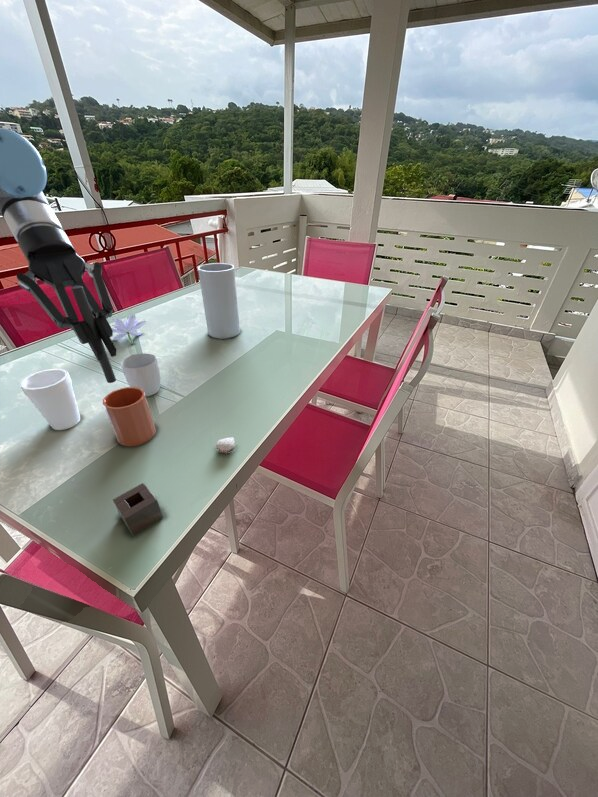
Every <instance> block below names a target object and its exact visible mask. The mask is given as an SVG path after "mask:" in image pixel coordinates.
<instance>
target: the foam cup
mask: <svg viewBox="0 0 598 797" xmlns="http://www.w3.org/2000/svg"><path fill="white" fill-rule="evenodd" d="M72 383H73V382H72V378H71V376H70V374H69V371H68V370H65V369H64V368H49V369H43V370H40V371H36V372H34V373H30V374H29V375H28V376H25V377H24V378H23V379H22V380H21V381H20V384H19V387H20V388H21V390H22V392H23V394H24V395H25V397H27V398H28V399H29V400H30V402H31V403H32V404H33V405H34V407H35V408H36V409H37V411H38V412H39V413H40V414H41V416H42V417H43V418H44V419H45V421H46V422H47V423H48V424H49V426H51V428H52V429H53V430H56V431H63V430H67V429H70V428H73V427H74V426H76V425H78V424H79V423H80V421H81V414H80V411H79V407H78V403H77V399H76V395H75V393H74V388H73V384H72Z"/></svg>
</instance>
